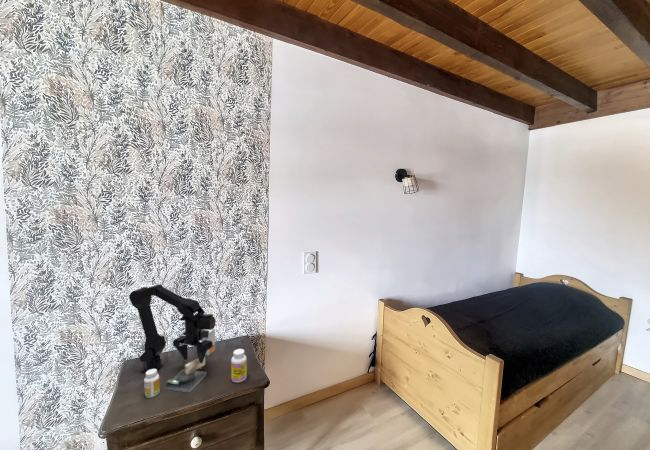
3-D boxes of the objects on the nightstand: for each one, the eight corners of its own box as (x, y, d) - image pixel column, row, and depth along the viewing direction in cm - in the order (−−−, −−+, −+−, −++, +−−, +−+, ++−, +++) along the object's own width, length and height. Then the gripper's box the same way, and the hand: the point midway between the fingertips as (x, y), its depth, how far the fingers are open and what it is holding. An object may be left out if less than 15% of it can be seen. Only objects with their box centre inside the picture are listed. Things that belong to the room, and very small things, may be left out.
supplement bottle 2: (231, 384, 122) (230, 356, 120) (231, 375, 128) (231, 348, 127) (246, 381, 123) (246, 354, 122) (246, 373, 130) (246, 346, 129)
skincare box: (208, 355, 144) (208, 333, 143) (201, 354, 145) (200, 332, 144) (215, 349, 150) (215, 328, 149) (208, 348, 151) (207, 327, 150)
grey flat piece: (164, 389, 118) (164, 381, 118) (189, 366, 135) (189, 358, 134) (190, 392, 116) (189, 384, 116) (212, 368, 133) (212, 361, 133)
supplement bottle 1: (159, 387, 119) (158, 366, 118) (160, 395, 115) (159, 372, 114) (144, 392, 116) (143, 370, 115) (144, 399, 112) (143, 377, 111)
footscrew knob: (183, 385, 118) (182, 372, 118) (174, 380, 122) (173, 367, 121) (209, 370, 129) (208, 358, 128) (199, 365, 132) (199, 353, 132)
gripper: (220, 324, 133) (221, 355, 134) (190, 319, 139) (192, 349, 141) (202, 334, 123) (204, 368, 124) (171, 328, 129) (173, 361, 130)
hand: (193, 361), depth 130 cm, fingers open, 9 cm apart
